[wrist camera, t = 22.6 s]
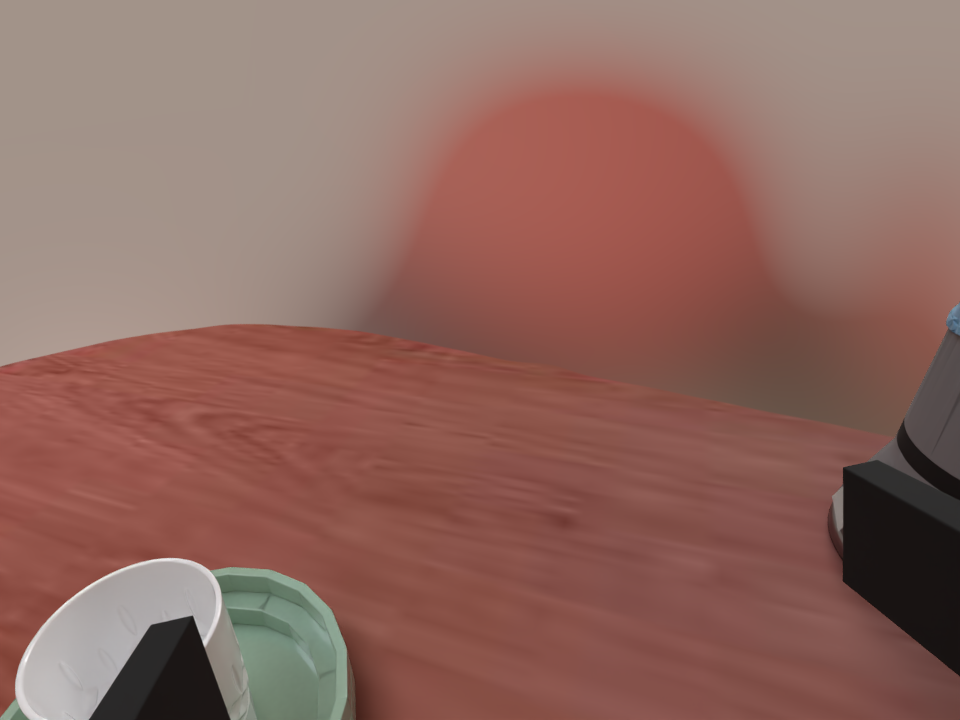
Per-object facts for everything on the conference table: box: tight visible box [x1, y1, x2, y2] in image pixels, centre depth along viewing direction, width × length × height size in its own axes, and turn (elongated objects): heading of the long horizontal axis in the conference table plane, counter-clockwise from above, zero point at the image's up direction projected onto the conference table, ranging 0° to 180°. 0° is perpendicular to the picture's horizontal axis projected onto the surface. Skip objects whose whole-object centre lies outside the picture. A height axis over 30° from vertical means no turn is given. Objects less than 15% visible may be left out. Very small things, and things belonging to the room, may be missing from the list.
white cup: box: [15, 558, 257, 720], centre depth 26 cm, size 8×8×10 cm
